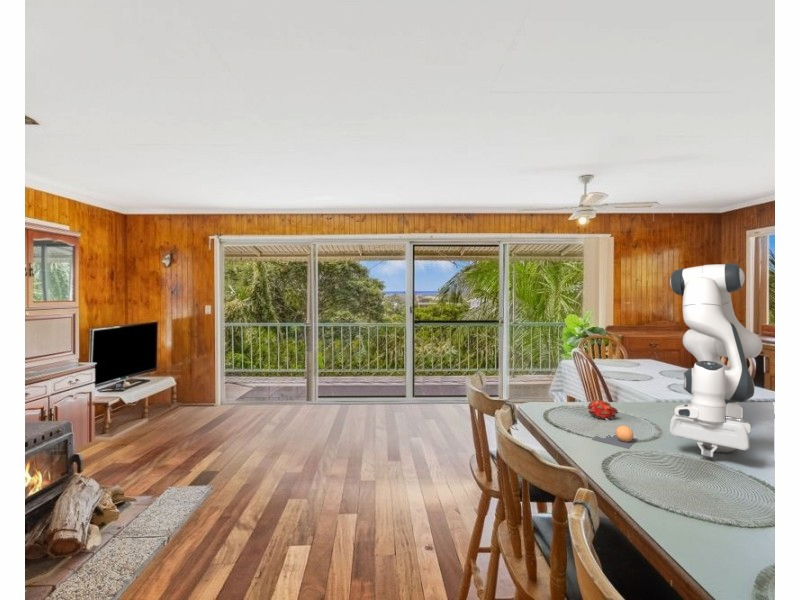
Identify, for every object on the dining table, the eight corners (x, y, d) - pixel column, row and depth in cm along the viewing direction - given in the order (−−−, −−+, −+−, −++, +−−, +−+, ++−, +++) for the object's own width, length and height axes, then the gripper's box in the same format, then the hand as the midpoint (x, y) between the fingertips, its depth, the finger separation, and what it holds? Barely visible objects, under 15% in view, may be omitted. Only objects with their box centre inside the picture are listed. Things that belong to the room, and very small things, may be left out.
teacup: (728, 458, 131) (729, 433, 130) (691, 446, 140) (692, 423, 140) (749, 450, 137) (749, 427, 137) (712, 439, 147) (713, 418, 146)
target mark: (602, 431, 155) (602, 430, 155) (637, 439, 147) (637, 438, 147) (591, 439, 146) (591, 439, 146) (628, 448, 138) (628, 447, 138)
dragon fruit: (585, 418, 176) (615, 427, 169) (584, 411, 169) (615, 420, 163) (590, 401, 179) (620, 409, 172) (589, 393, 173) (620, 401, 166)
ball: (636, 427, 145) (633, 442, 145) (619, 421, 148) (616, 436, 149) (633, 431, 140) (630, 446, 141) (615, 425, 144) (612, 440, 144)
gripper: (751, 417, 123) (750, 462, 123) (672, 404, 137) (671, 444, 137) (750, 422, 119) (749, 468, 119) (668, 408, 133) (668, 449, 133)
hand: (707, 455), depth 128 cm, fingers closed
